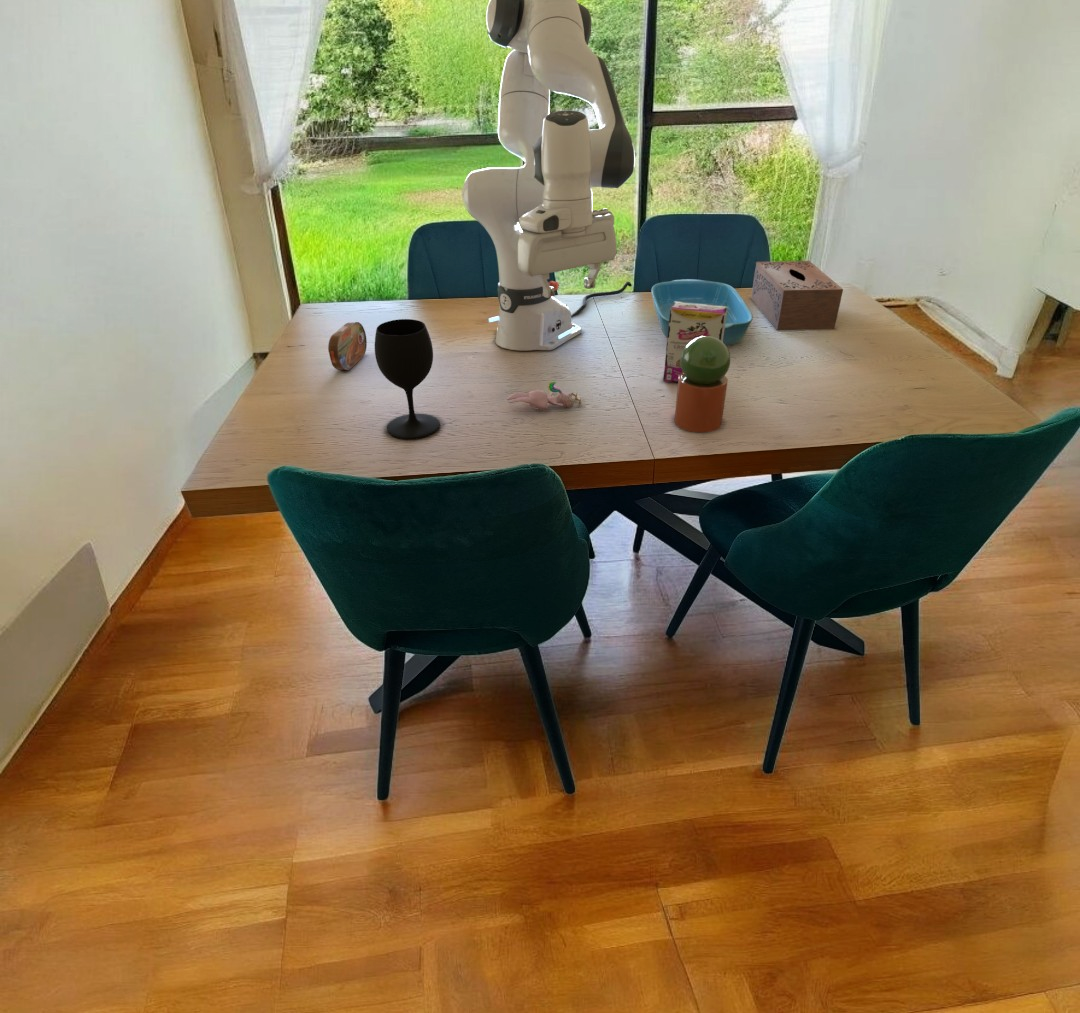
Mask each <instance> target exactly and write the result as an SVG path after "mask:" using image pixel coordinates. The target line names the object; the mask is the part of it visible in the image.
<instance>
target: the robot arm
mask: <svg viewBox="0 0 1080 1013" xmlns="http://www.w3.org/2000/svg"><path fill="white" fill-rule="evenodd" d="M485 22H486V31H487V35H488V36H489V38H490V41H491V42H492V43H494V44H496V45H498V46H500V47H501V48H509V49H512V51H510V52H509V54H508V55H507V57H506V59H505V62H504V66H503V69H502V75H501V80H500V88H499V100H498V101H499V102H498V120H497V121H498V123H497V124H498V125H497V136H498V139H499V140H498V141H499V142H500V144H501V145H502V147H503V148H504V149H505V150H506V151H508V152H509V153H511V154H513V155H514V156H516V157H518V158H520V159H521V160H522V161H523V162H524V164H523V166H520V167H486V168H481V169H476V170H473V171H471V172H470V173H469V174H468V175H467V176H466V178H465V180H464V182H463V185H462V189H461V198H462V202H463V206H464V208H465V209H466V210H465V211H467V213H468V214H469V216H471V217H472V218H473V219H474V220H476V221H477V222H478V223H479V225H481V226H482V227H483V228H484V229H485V230H486V232H487V234H488V235H489V237H490V238H491V241H492V242H493V245H494V248H495V253H496V258H497V267H498V268H497V269H498V280H499V282H498V283H497V299H498V303H499V304H498V305H499V306H498V307H499V308H498V315H497V316H493V317H490V318H488V322H489V323H493V322H496V321H497V328H496V336H495V340H494V341H495V344H496V345H497V346H499V347H500V348H503V349H505V350H506V349H507V350H511V351H519V352H520V351H521V352H522V351H523V352H524V351H525V352H527V351H528V352H529V351H553V350H554V349H556V348H558V347H560V346H561V345H563V344H565V343H567V342H568V341H570V340H571V339H573V338H574V337H576V336H579V335H580V334H581V333H582V328H581V327H580V326H579V325H577V324H576V323H573V319H572V318H574V317H576V316H578V315H580V313H582V311H583V310H585V308H586V307H587V300H589V299H592V298H596V297H606V296H607V297H608V296H616V295H619V294H621V293H623V292H624V291H625V290H626V289H627V287H633V285H632V283H631V281H626V282H625V283H624V284H623V285H622V287H621V288H620V289H618V290H612V291H601V292H594V293H590V294H587V295H585V296H584V297H583V298H582V305H580V307H579V308H578V309H577V310H576V311H575V312H574V313H572V312H571V310H570V308H569V307H568V304H566V303H562V302H561V301H560V300H558V299H557V298H556V297H555V296H556V294H555V293H556V292H555V291H558V290H559V288H560V282H558V281H554V280H550V274H552V273H553V274H554V273H558V272H562V271H567V270H572V269H577V268H582V267H586V266H587V268H588V269H589V271H588V273H587V276H586V277H584V278H583V287H584V289H587V290H590V289H594V288H596V279H597V277H598V276H599V273H600V271H601V264H603V263H605V262H611V261H614V260H615V258H616V256H617V254H618V253H617V251H618V250H617V237H616V236H617V235H616V232H615V231H616V230H615V215H614V213H613V212H612V211H611V210H609V209H608V208H601V209H594V210H593V190H592V188H602V189H606V188H607V189H619V188H620V187H622V186H623V185H624V184H625V183H626V182H627V181H629V179H630V178H631V176H632V175H634V171H635V165H636V164H635V163H636V152H635V146H634V143H633V140H632V137H631V134H630V132H629V130H628V128H627V125H626V122H625V119H624V117H623V113H622V109H621V107H620V104H619V101H618V96H617V93H616V90H615V86H614V83H613V81H612V77H611V75H610V72H609V69H608V67H607V63H606V61H605V60H604V58H602V57H600V56H599V55H596V53H594V52H593V50H592V49H591V48H590V46H589V43H590V39H591V36H592V16H591V13H590V10H589V9H588V8H587V7H586V6H584V5H583V4H581V3H580V2H578V0H489V1H488V4H487V7H486V13H485ZM551 92H553V93H557V94H562V95H567V96H571V97H575V98H579V99H581V100H583V101H584V102H587V103H588V104H590V105H591V106H592V108H593V110H594V112H595V116H596V119H597V123H598V126H599V128H592V129H590V124H589V118H588V116H587V114H585V113H583V112H581V111H578V110H577V111H576V110H567V109H565V110H558V111H557V110H556V111H554V112H551V113H550V107H551V106H550V104H551V103H550V102H551V101H550V100H551V96H550V95H551ZM548 280H550V281H548Z"/></svg>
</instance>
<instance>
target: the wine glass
mask: <svg viewBox="0 0 1080 1013" xmlns="http://www.w3.org/2000/svg"><path fill="white" fill-rule="evenodd" d="M374 356H375V361H376V364H377V367H378V369H379V371H380V373H381V374H382V375H383V376H384V378H385V379H386V380H387V381H389V382H390V383H392V384H393V385H394V386H397V387H398V388H400V389H403V390H404V392H405V395H406V396H405V397H406V401H407V406H408V414H403V415H400V416H397V417H395V418H394V419H391V420H390V421H389V422H388V423H387V425H386V432H387V434H388V435H390V437H392V438H395V439H399V440H406V441H408V440H409V441H413V440H420V439H424V438H428V437H431V436H432V435H434V434H435V433H437V432H438V431H439V430H440V428H441V422H440V420H439V419H438V418H437V417H436V416H433V415H431V414H427V413H415V412H416V411H415V406H414V389H415V388H416V387H418V386H419V385H420V384H421V383H422V382H423V381H424V380H425V379H426V378H427V376H428V375H429V373H430V371H431V369H432V365H433V361H434V348H433V343H432V339H431V335H430V333H429V331H428V328H427V326H426V324H425V322H423V321H421V320H418V319H413V318H411V319H410V318H402V319H401V318H400V319H393V320H392V319H391V320H389V321H384V322H382V323H379V325H377V327H376V329H375V336H374Z"/></svg>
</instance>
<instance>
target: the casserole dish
mask: <svg viewBox="0 0 1080 1013" xmlns="http://www.w3.org/2000/svg"><path fill="white" fill-rule="evenodd" d="M651 296H652V301H653V306H654V311H655V313H656V316H657V319H658V322H659V325H660V328H661V330H662V332H663V334H664V336H665V337H666V339H667V338H668V328H669V318H670V309H671V306H673V304H674V301H677V302H687V303H696V304H706V305H716V306H726V307H727V316H726V322H725V329H724V336H723V343H724V344H725V345H726V346H727V347H729V346H733V345H735V344H737V343H739V342H740V341H741V340H742V339H743V338H744V336H745V334H746V332H747V330H748V329H749V327H750V325H751V323H752V322H753V319H754V316H753V313H752V312H751V310H750V308H749V306H748V304H747V303H746V302H745V300H744V299H743V298H742V296H741V294H739V292H738V291H737V290H736V288H734V287H733V286H731V285H729V284H727V283H724V282H718V281H710V280H703V279H693V278H691V279H689V278H687V279H686V278H685V279H684V278H683V279H673V280H671V281H662V282H658V283H655V284H654V285H653V286H652V287H651Z"/></svg>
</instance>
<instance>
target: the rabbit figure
mask: <svg viewBox="0 0 1080 1013" xmlns="http://www.w3.org/2000/svg"><path fill="white" fill-rule="evenodd" d="M555 384H557V381H551V382H549V383H548V385H547V388H548V390H549V391H550V392H551V393H550V394H549V395H547V393H546V392H544V391H543V390H540V389H536V390H535V389H534V390H532V391H529V392H522V391H519V392H514V393H512V394H510V395H509V396H508V397H507V398H506V401H509V402H508V404H513V403H520V402H521V403H526V404H528V405H529V406H530V407H531V408H532V409H537V410H541V411H543V410H546V409H547V408H548V407H549V406H548V405H549V404H550V405H552V406H555V407H556V406H559V407H565V408H572V407H573V406H574V405H575V403H576V401H578V407H581V405H582V404H581V403H582V400H581V399H582V397H580V398H578V393H576V394H575V393H574V392H571V393H567V391H562V390H561V389H560V387H558V386H555ZM556 393H557V395H556V396H554V395H555V394H556ZM573 396H574V397H573Z"/></svg>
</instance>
